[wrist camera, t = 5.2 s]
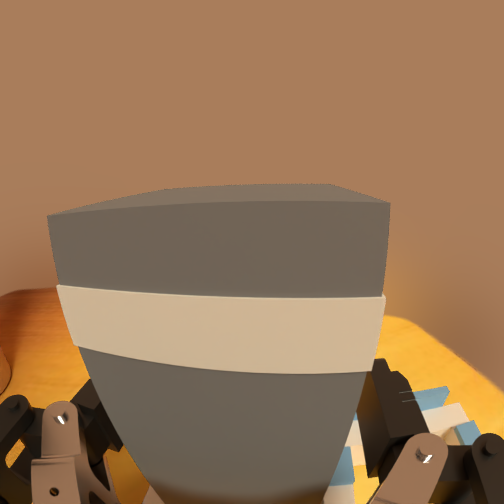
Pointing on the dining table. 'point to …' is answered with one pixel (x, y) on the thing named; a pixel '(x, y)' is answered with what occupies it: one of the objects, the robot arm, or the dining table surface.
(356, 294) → the plug
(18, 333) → the dining table surface
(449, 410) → the holder
